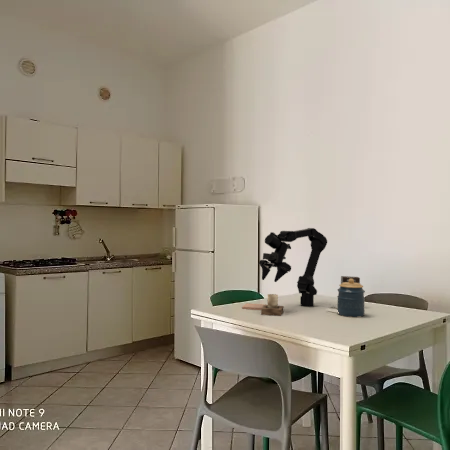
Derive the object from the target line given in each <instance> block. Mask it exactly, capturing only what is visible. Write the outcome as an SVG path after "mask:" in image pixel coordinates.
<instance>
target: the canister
mask: <svg viewBox="0 0 450 450" xmlns="http://www.w3.org/2000/svg"><path fill="white" fill-rule="evenodd" d="M363 288H364V285H362V284H361V283H354V280H353V279H349V282H343V283H342V284H341V283H340V284H339V288H338V289H337V291H338V295H337V296H336V297H337V308H336V309H337V310H338V312H339V314H340V316H342V315H344V316H343V317H348V316H353V317H352V318H355V317H356V318H358V317H357V316H361V317H364V316H365V313H366V312H365V299H366V298H365V293H366V290H364V289H363ZM337 310H336V311H337ZM338 312H337V313H338ZM339 314H338V315H339ZM363 315H364V316H363Z"/></svg>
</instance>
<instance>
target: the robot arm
mask: <svg viewBox="0 0 450 450" xmlns="http://www.w3.org/2000/svg"><path fill="white" fill-rule="evenodd" d="M306 237H307V238H308V240H309V241H310V247H311V248H310V249H311V251H310V254H309V258H308V260H307V261H308V262H307V263H306V268H305V270H304V273H303V275H300V276H298V280H297V282H296V283H297V284H296V287H297V290H298V293H299V294H301V296H300V302H299V303H300V306H301V307H314V305H315V303H314V301H315V300H314V299H315V298H314V296H317V294H318V290H317V289H316V288H315V286H314V285H315V279H314V275H315V272H316V269H317V265H318V262H319V259H320V256H321V253H322V252H323V251H324V250H325V249H326V247H327V244H328V239H327V237H326V236H325V235H324V234H323V233H321V232H319V231H318V230H317V229H316V228H315V227H307V228H303V229H297V230H281V231H280V232H279V233H278V234H276V233H275V232H272V231H271V232H270V234H268V235H267V236H266V237H264V238H265V239H264V243H265V244H266V245H267V246H269V247H270V248H272V249H273V250H274V251H271V253H266V252H264V253H263V254H262V259H260V260H259V262H258V265H259V267H261V274H262V275H261V280H262V281H265V279H266V277H268V274H269V273H270V271H271V269H272V268H276V274H275V276H274V282H275V283H277V282H278V281H279V280H280V279H281V278H282V277H284V276H285V275H286V274H288V273H289V272H291V270H292V265H290V264H289V263H287V262H286V261H284V260H286V258H287V257H286V254H287V251H288V250H292V246H291V243H292V242H294V241H297V239H300V238H306Z"/></svg>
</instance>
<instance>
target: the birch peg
mask: <svg viewBox="0 0 450 450" xmlns="http://www.w3.org/2000/svg"><path fill="white" fill-rule="evenodd" d="M278 299H279V295H278V294H276V293H269V294H267V303H266V305H267V308H274V309H278V306H279V305H278V303H279V300H278Z"/></svg>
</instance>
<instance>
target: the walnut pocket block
mask: <svg viewBox="0 0 450 450" xmlns="http://www.w3.org/2000/svg"><path fill="white" fill-rule="evenodd" d="M260 313H261V314H260V315H264V316H277V317H278V316H280V317H281V316H282V315H283V313H284V306H283V305H278V309H274V308H267V304H266V305H264V306H263V307H262V308H261V310H260Z"/></svg>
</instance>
